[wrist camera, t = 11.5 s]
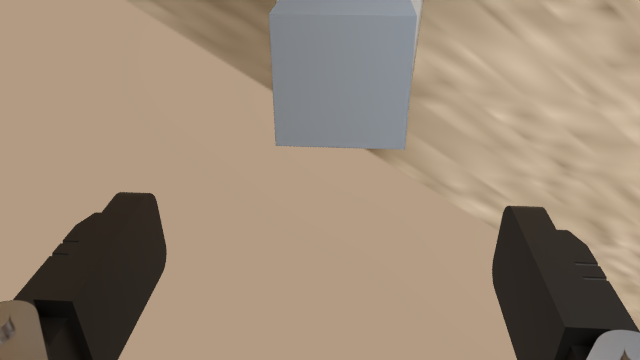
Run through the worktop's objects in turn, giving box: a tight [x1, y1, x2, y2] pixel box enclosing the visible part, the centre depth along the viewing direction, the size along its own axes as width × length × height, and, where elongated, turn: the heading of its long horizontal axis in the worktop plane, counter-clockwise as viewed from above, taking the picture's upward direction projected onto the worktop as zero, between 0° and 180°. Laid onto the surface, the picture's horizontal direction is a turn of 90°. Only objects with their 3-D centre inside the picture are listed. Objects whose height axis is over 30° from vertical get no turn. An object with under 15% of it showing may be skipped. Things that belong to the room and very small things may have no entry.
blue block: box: [269, 0, 417, 150], centre depth 23 cm, size 6×6×6 cm
